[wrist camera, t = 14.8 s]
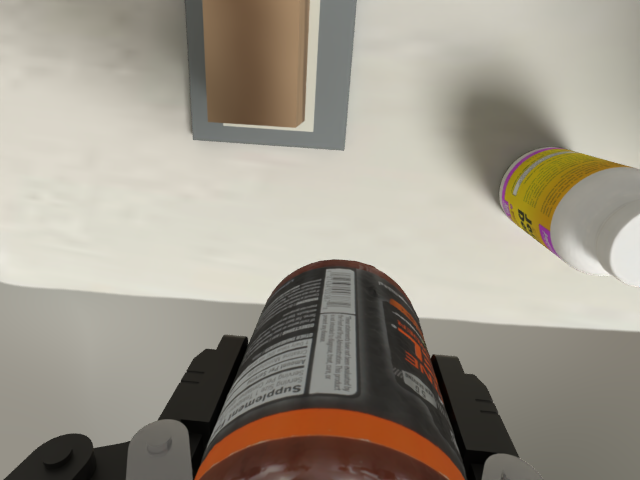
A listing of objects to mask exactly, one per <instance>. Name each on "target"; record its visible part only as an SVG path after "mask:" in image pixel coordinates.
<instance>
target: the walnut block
mask: <svg viewBox="0 0 640 480" xmlns="http://www.w3.org/2000/svg"><path fill="white" fill-rule="evenodd" d="M202 3H203V26H204V48H205V70H206V93H207V115H208V122H215V123H230V124H245V125H260V126H275V127H289V128H296V127H297V126H299V125H300V124H301V123H303V122H304V121H305V104H306V81H307V57H308V34H309V11H310V0H202Z"/></svg>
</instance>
